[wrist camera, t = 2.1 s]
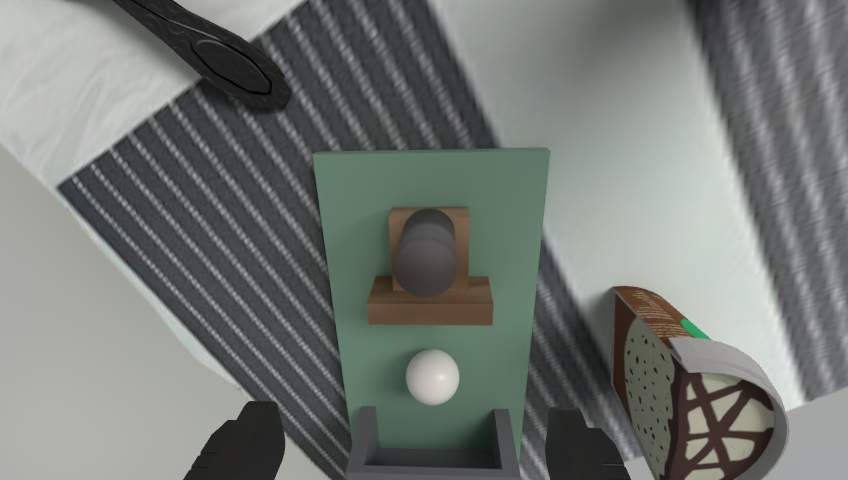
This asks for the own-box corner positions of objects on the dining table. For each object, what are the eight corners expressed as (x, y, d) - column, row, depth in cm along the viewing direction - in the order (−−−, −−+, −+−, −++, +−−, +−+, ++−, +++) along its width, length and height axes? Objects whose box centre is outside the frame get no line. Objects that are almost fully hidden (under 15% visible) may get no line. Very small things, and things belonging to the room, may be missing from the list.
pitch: (316, 151, 27) (312, 154, 26) (546, 147, 26) (549, 150, 25) (356, 449, 38) (354, 458, 37) (517, 453, 37) (518, 463, 36)
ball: (407, 337, 31) (402, 374, 28) (458, 338, 31) (460, 375, 27) (409, 377, 33) (404, 417, 29) (458, 378, 33) (459, 418, 29)
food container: (687, 390, 33) (778, 515, 24) (609, 397, 34) (670, 520, 25) (703, 258, 28) (825, 351, 19) (612, 268, 29) (689, 363, 20)
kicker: (369, 198, 26) (344, 242, 20) (491, 197, 26) (506, 241, 20) (377, 295, 29) (358, 359, 23) (487, 295, 29) (498, 361, 23)
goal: (362, 405, 34) (345, 472, 29) (508, 409, 34) (520, 477, 28) (367, 456, 37) (353, 526, 31) (504, 460, 36) (514, 532, 31)
